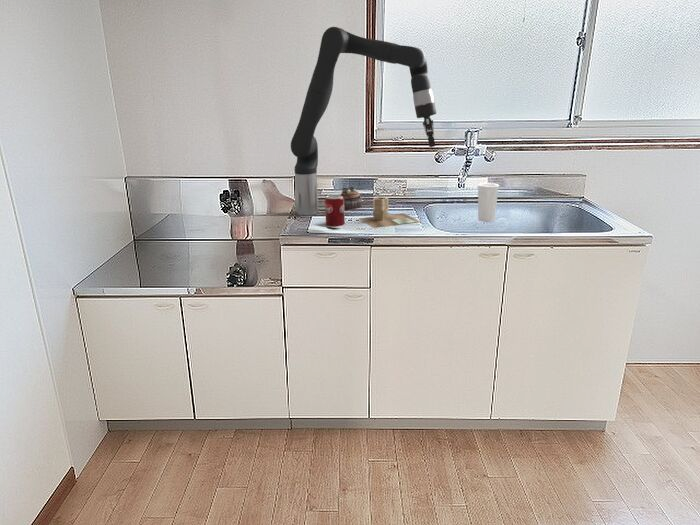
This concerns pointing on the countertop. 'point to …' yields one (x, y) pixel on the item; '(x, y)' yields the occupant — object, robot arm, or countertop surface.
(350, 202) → the cupcake
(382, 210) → the wooden collar
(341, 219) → the soda can
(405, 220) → the post stand
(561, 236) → the countertop surface
